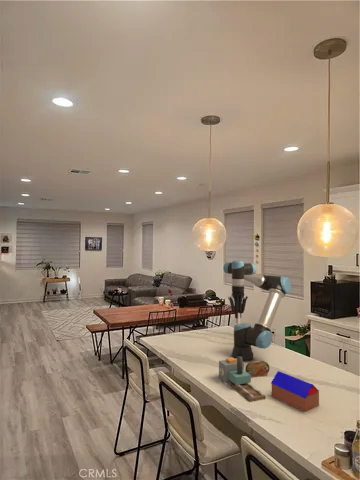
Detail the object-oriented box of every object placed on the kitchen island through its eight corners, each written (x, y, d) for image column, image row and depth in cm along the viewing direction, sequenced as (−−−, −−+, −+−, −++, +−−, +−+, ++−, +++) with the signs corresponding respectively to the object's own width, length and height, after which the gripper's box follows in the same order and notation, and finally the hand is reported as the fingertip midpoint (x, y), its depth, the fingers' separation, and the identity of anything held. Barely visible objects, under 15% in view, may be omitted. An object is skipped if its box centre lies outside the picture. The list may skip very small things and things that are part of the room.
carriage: (229, 379, 176) (229, 355, 177) (243, 376, 180) (242, 353, 180) (236, 384, 169) (236, 360, 169) (250, 382, 172) (250, 358, 172)
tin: (247, 378, 184) (247, 363, 185) (244, 376, 188) (244, 361, 188) (269, 375, 189) (269, 361, 189) (267, 373, 192) (266, 359, 192)
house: (285, 390, 169) (285, 368, 170) (320, 405, 153) (319, 381, 153) (270, 396, 163) (270, 373, 163) (305, 412, 146) (305, 387, 146)
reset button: (232, 362, 186) (232, 357, 186) (236, 365, 182) (236, 359, 182) (226, 363, 185) (226, 358, 185) (229, 366, 181) (229, 360, 181)
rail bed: (228, 383, 177) (228, 379, 177) (242, 381, 180) (242, 376, 180) (250, 401, 156) (250, 396, 156) (265, 398, 159) (265, 393, 159)
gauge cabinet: (236, 375, 189) (236, 358, 189) (244, 380, 181) (243, 362, 182) (218, 378, 185) (218, 360, 185) (224, 383, 177) (224, 365, 177)
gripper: (243, 284, 202) (244, 321, 201) (225, 285, 198) (225, 323, 197) (250, 285, 195) (250, 323, 194) (231, 286, 191) (231, 325, 190)
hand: (238, 323), depth 196 cm, fingers closed
